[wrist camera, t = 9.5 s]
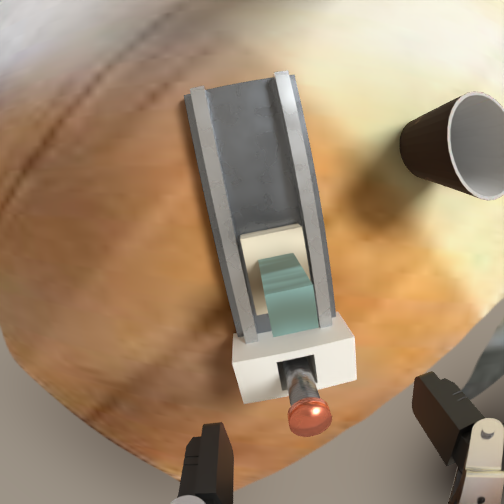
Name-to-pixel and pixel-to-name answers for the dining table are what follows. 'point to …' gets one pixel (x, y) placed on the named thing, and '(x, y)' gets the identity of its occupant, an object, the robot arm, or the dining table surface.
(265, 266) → the carriage
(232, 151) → the rail bed
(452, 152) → the coffee mug
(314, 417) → the gauge plunger
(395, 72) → the dining table surface
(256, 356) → the end cabinet
